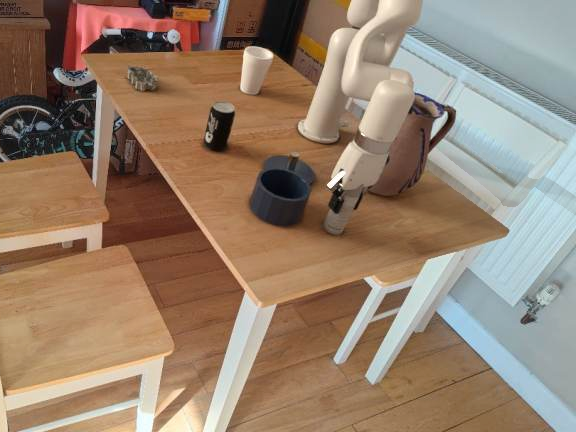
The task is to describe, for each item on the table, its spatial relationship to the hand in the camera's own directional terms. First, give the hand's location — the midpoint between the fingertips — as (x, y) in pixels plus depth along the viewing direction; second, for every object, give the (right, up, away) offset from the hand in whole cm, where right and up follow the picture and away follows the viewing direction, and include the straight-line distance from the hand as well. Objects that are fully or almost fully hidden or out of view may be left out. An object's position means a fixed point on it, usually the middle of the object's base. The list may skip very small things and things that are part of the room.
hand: (342, 207), depth 117 cm
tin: (-14, 0, +6) cm, 16 cm away
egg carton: (-50, +40, +44) cm, 78 cm away
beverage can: (-28, +17, +23) cm, 40 cm away
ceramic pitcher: (+17, +6, +22) cm, 29 cm away
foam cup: (-15, +40, +53) cm, 68 cm away
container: (-1, -5, +4) cm, 7 cm away
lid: (-9, +10, +19) cm, 23 cm away
